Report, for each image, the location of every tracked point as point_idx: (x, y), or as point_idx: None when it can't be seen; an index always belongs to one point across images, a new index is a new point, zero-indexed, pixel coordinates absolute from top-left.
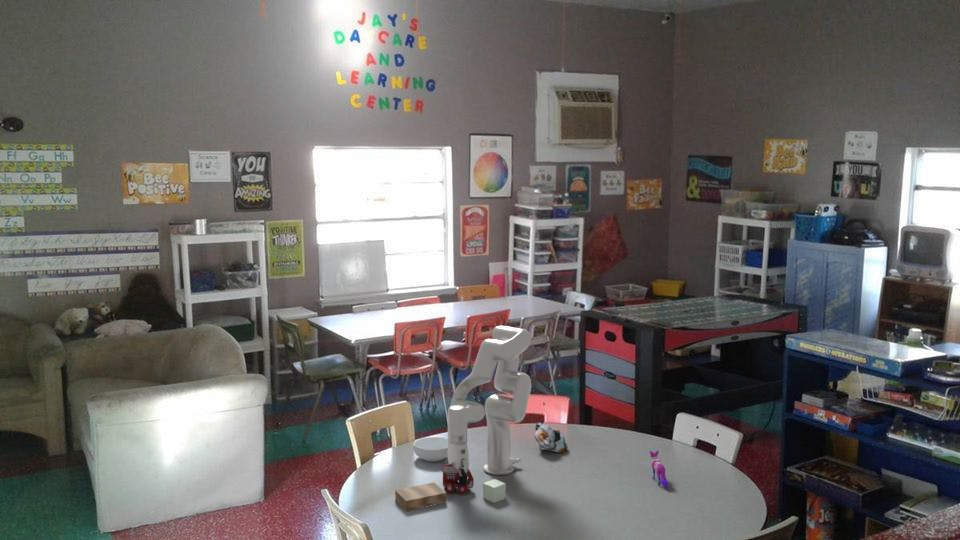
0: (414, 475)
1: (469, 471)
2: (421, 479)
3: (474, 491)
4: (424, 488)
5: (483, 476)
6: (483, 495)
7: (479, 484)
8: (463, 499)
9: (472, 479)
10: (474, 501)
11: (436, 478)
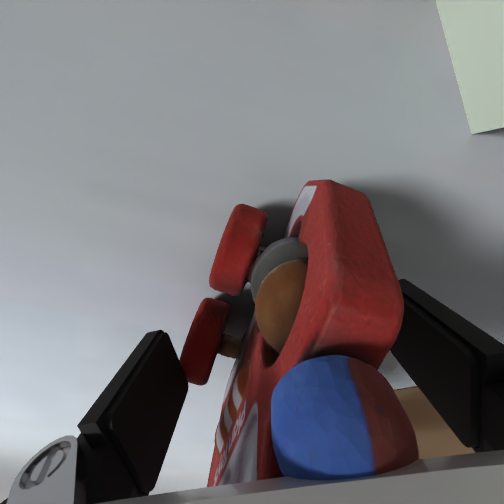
0: (22, 455)
1: (376, 271)
2: (76, 437)
3: (321, 177)
4: None
5: (6, 7)
6: (499, 126)
7: (191, 98)
8: (426, 284)
9: (369, 204)
10: (497, 218)
11: (61, 371)
